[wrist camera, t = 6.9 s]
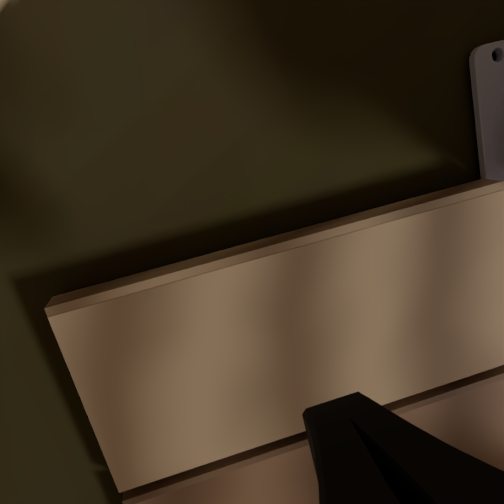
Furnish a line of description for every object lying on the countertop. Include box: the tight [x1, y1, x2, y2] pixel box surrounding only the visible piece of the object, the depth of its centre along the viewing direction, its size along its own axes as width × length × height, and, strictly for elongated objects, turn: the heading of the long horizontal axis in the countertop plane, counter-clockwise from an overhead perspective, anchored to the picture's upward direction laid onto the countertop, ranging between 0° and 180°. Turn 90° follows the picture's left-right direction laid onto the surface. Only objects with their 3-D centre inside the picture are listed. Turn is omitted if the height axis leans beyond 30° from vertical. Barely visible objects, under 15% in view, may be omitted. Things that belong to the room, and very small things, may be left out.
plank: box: [44, 178, 504, 493], centre depth 18 cm, size 18×8×1 cm, turn 104°
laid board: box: [122, 365, 504, 504], centre depth 20 cm, size 18×7×1 cm, turn 104°
